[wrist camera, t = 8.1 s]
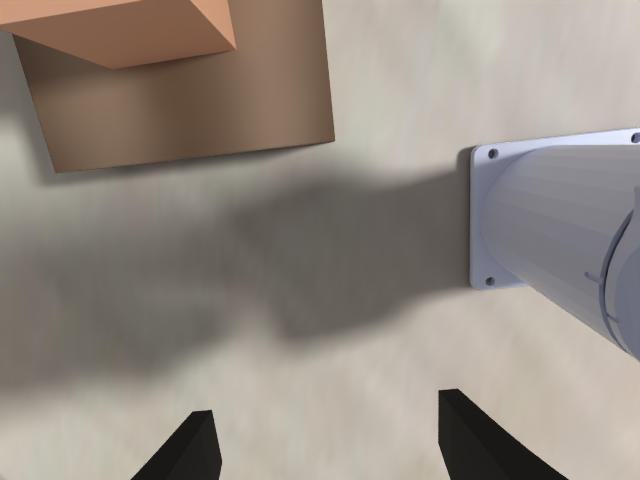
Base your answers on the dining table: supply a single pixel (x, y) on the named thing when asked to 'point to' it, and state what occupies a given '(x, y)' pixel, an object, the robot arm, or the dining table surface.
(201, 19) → the terracotta cube
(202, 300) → the dining table surface
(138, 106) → the walnut plinth
